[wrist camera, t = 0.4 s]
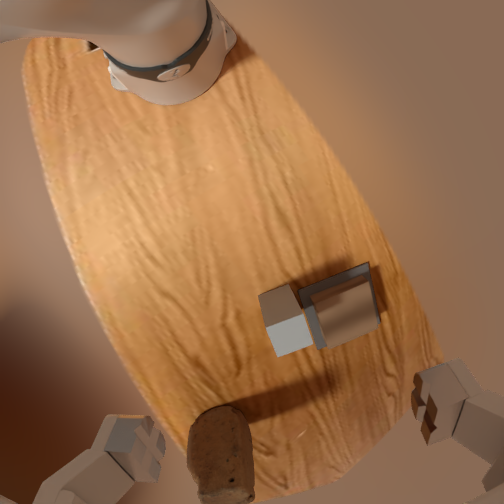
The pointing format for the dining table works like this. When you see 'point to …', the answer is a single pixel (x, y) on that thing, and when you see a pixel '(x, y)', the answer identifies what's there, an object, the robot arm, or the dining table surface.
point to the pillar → (284, 320)
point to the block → (222, 457)
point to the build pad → (326, 284)
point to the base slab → (345, 311)
